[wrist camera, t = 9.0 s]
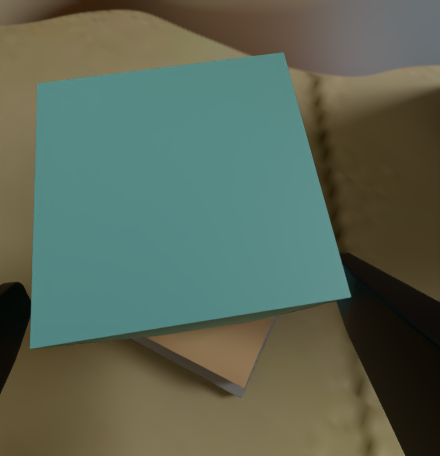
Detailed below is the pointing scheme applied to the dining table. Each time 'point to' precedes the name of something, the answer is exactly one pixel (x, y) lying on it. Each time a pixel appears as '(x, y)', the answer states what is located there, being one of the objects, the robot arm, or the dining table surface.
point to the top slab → (221, 347)
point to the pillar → (175, 204)
